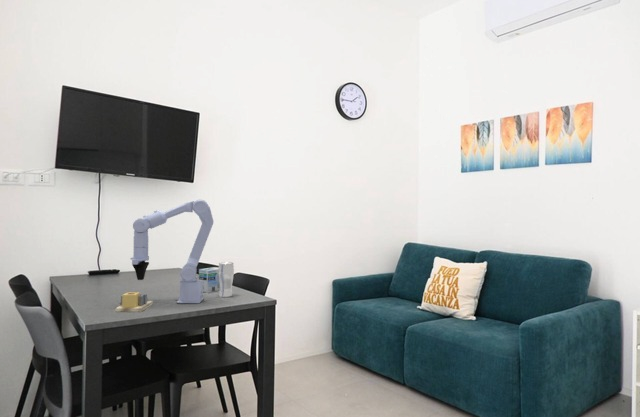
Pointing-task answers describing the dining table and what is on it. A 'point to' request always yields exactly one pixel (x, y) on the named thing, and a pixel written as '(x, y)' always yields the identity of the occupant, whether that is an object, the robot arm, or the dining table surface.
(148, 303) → the base plate
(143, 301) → the housing
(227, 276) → the beer glass
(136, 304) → the block
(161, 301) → the dining table surface
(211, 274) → the light bulb box
